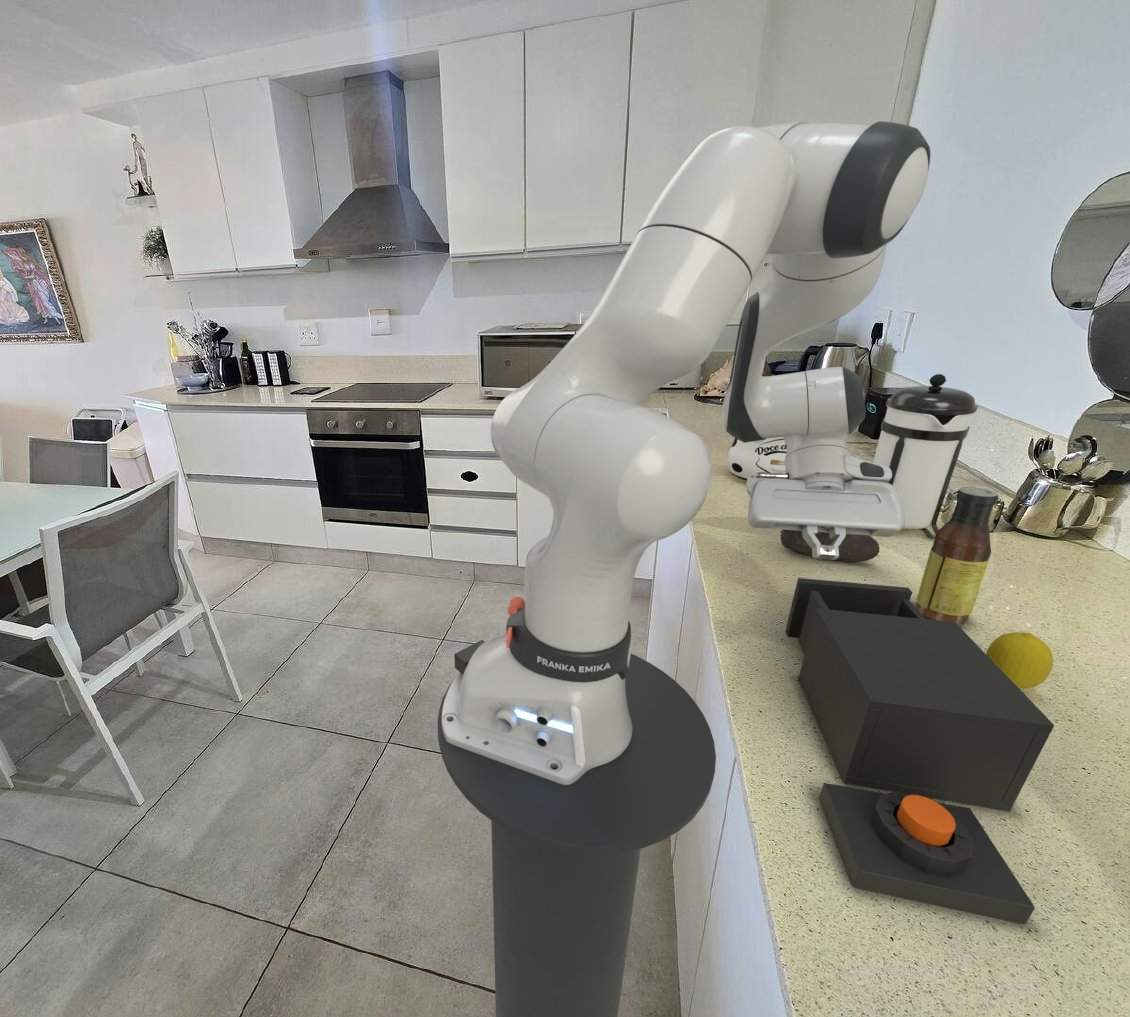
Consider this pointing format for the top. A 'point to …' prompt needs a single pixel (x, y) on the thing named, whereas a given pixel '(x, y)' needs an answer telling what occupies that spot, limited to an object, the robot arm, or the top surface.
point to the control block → (921, 856)
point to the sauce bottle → (958, 559)
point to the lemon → (1022, 658)
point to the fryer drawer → (844, 603)
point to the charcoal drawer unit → (919, 709)
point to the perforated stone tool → (848, 549)
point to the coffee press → (924, 446)
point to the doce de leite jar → (757, 457)
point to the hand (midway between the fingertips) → (825, 558)
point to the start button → (926, 820)
